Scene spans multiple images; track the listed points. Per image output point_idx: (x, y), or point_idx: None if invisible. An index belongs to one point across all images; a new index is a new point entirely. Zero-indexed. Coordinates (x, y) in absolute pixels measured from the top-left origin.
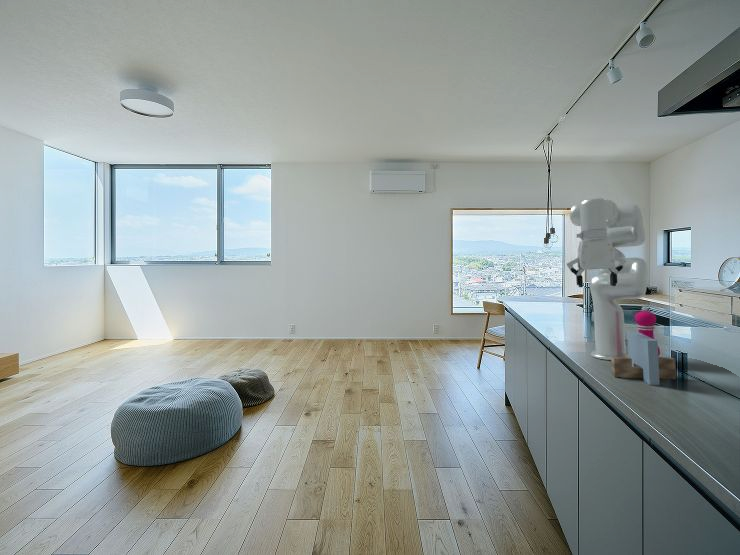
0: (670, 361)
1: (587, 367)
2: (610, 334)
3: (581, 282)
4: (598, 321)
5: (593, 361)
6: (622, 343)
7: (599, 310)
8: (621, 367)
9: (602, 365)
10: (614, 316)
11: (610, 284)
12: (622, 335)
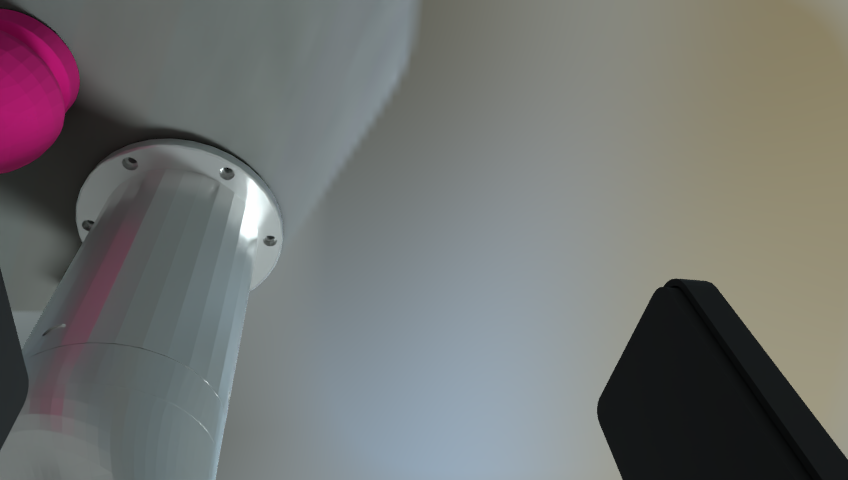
0: None
1: (399, 5)
2: (165, 255)
3: (745, 353)
4: (216, 357)
5: (312, 135)
6: (103, 222)
7: (189, 423)
8: None
9: (295, 45)
10: (88, 348)
11: (21, 399)
12: (82, 258)
